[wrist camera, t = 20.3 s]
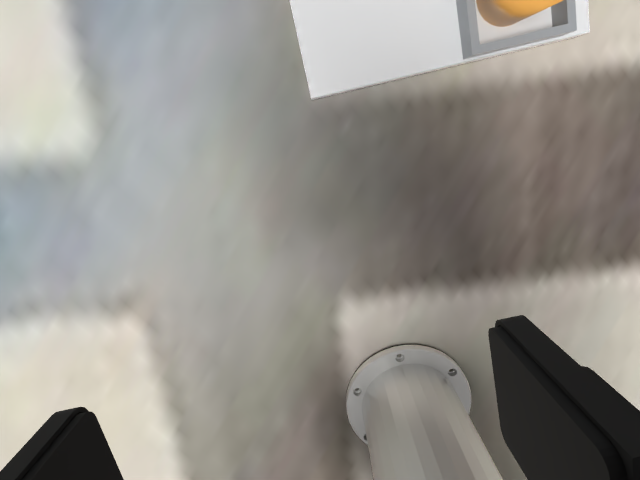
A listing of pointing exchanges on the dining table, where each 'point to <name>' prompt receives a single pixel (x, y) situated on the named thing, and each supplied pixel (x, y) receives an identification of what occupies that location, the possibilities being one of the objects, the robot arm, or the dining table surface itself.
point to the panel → (413, 38)
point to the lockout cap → (511, 10)
